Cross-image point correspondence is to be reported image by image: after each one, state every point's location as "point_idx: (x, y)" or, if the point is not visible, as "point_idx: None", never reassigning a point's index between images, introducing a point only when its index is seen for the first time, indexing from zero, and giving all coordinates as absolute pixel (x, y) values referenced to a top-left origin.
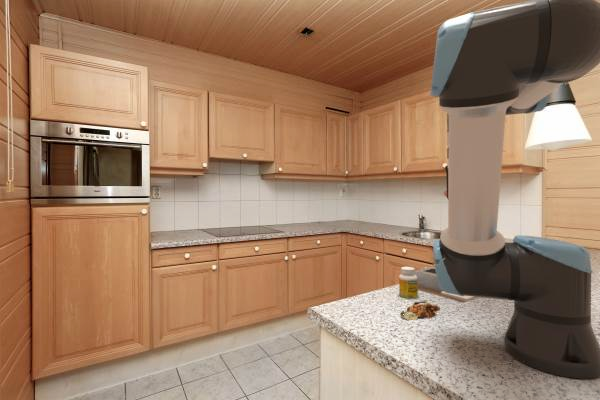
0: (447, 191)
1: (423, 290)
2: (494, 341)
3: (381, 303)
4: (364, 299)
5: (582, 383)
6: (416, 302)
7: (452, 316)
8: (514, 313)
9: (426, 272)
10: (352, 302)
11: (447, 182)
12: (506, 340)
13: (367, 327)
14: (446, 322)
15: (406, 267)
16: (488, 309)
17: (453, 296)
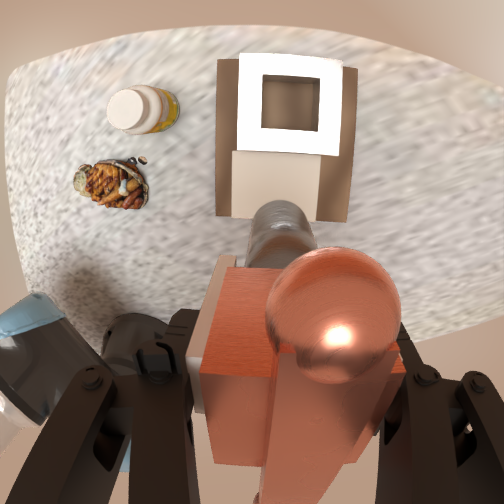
0: (54, 420)
1: (223, 105)
2: (125, 302)
3: (94, 101)
4: (86, 66)
5: None
6: (117, 165)
7: (148, 227)
8: (107, 353)
9: (253, 90)
10: (60, 71)
11: (15, 500)
12: (110, 326)
13: (23, 174)
14: (119, 234)
15: (128, 99)
16: (240, 253)
17: (232, 184)
